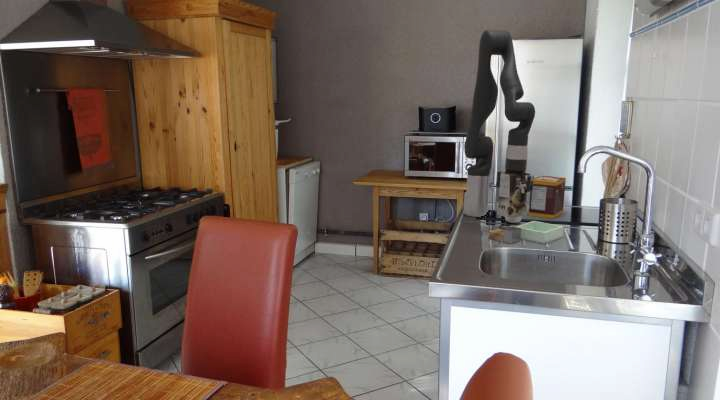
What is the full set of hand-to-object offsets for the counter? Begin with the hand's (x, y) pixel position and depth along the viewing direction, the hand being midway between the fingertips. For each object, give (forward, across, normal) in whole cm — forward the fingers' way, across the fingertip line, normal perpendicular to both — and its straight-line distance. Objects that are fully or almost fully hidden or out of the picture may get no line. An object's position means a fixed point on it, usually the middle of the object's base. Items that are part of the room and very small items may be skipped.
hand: (513, 200), depth 199 cm
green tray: (+11, +12, -2) cm, 17 cm away
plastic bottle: (+12, -6, +11) cm, 17 cm away
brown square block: (+11, +4, -14) cm, 19 cm away
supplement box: (+12, -4, +36) cm, 38 cm away
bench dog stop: (+11, +9, -14) cm, 20 cm away
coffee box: (+6, 0, 0) cm, 6 cm away
